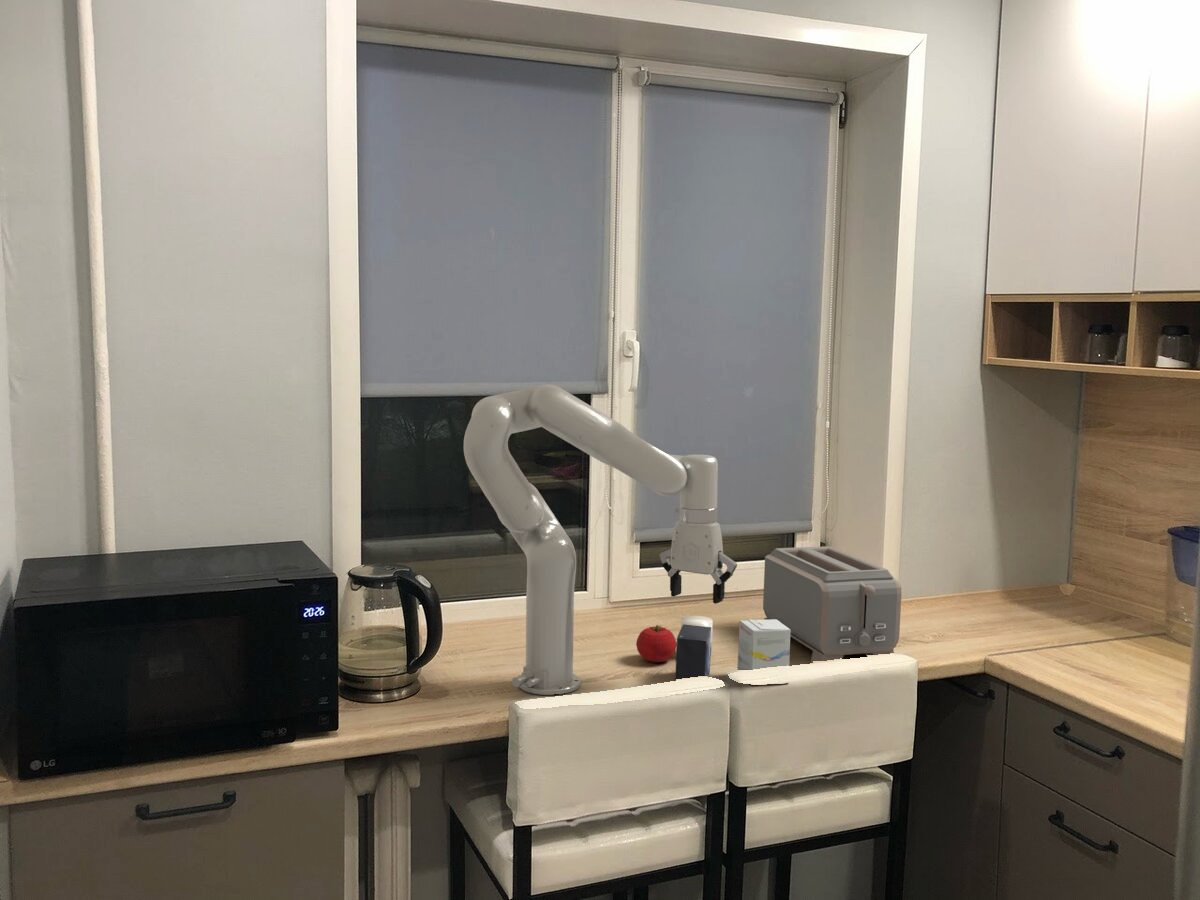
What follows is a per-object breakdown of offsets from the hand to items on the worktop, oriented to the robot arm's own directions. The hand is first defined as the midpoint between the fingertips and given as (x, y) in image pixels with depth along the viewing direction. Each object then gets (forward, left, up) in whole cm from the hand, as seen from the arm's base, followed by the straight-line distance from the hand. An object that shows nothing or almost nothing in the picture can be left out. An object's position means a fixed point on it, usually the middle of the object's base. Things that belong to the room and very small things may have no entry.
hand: (696, 598), depth 207 cm
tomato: (+7, +13, -18) cm, 23 cm away
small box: (0, 0, -18) cm, 18 cm away
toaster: (+40, -13, -18) cm, 46 cm away
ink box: (+10, -11, -18) cm, 23 cm away
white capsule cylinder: (+16, +8, -17) cm, 25 cm away
